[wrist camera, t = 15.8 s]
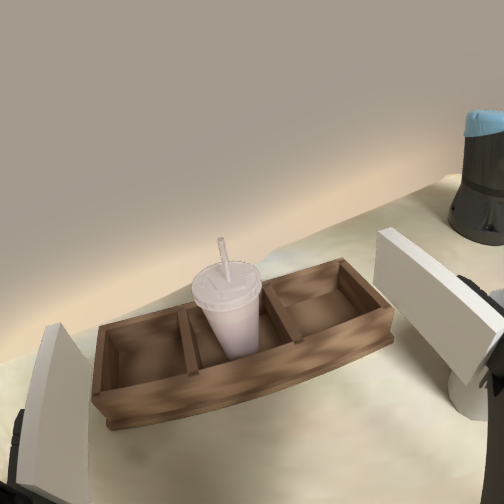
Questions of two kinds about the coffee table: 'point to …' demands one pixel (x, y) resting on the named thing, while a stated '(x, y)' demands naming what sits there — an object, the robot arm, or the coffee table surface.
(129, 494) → the coffee table surface
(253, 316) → the smoothie
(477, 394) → the cup
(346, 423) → the coffee table surface
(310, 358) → the caddy
